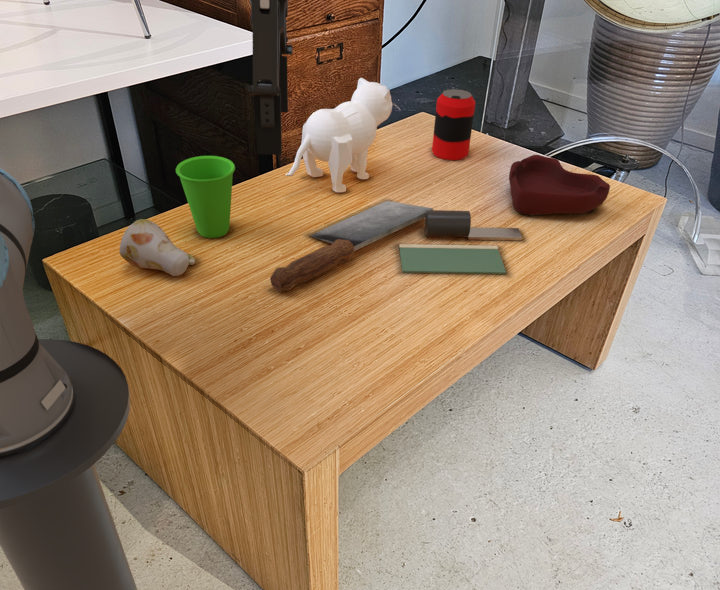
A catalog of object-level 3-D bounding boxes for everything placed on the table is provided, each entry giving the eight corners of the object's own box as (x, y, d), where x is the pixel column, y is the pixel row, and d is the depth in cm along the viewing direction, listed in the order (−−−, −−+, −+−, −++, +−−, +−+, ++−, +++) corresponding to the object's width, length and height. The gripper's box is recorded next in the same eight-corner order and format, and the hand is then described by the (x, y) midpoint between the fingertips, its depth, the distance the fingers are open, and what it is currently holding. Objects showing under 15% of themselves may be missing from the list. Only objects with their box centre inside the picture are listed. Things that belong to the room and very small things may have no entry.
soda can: (429, 158, 134) (435, 98, 126) (433, 144, 140) (439, 86, 132) (467, 162, 133) (475, 102, 125) (469, 148, 139) (477, 89, 131)
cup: (204, 250, 104) (195, 185, 97) (175, 228, 109) (164, 165, 102) (251, 232, 109) (246, 169, 102) (221, 212, 114) (214, 150, 107)
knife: (426, 240, 108) (428, 217, 106) (423, 228, 112) (426, 205, 109) (522, 242, 109) (527, 219, 106) (517, 229, 112) (521, 207, 110)
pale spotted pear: (178, 290, 96) (132, 235, 90) (144, 293, 102) (100, 242, 97) (209, 257, 99) (167, 203, 94) (175, 262, 106) (134, 211, 101)
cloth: (402, 273, 101) (402, 270, 100) (398, 246, 107) (399, 243, 107) (505, 274, 101) (506, 271, 101) (496, 247, 107) (497, 245, 107)
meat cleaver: (386, 200, 119) (387, 179, 117) (434, 222, 113) (436, 201, 111) (237, 270, 101) (234, 247, 98) (285, 301, 95) (283, 277, 92)
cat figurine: (304, 209, 116) (301, 113, 105) (270, 188, 122) (264, 95, 111) (406, 172, 129) (413, 84, 118) (371, 155, 135) (375, 69, 124)
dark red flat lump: (477, 197, 121) (481, 171, 118) (533, 175, 129) (538, 150, 126) (556, 236, 111) (562, 209, 108) (611, 209, 119) (619, 183, 116)
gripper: (301, -62, 56) (301, 176, 69) (308, -94, 75) (307, 97, 88) (211, -67, 55) (229, 173, 69) (242, -98, 74) (251, 95, 88)
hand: (273, 131), depth 79 cm, fingers open, 13 cm apart
